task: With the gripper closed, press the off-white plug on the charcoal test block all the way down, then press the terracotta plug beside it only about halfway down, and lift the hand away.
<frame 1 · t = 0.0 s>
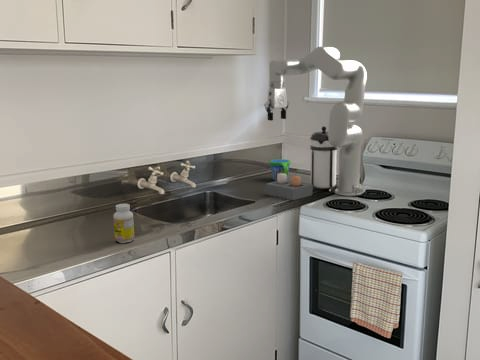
hand: (277, 119, 276), 31 cm above the counter, tool pointing down, fingers open, 9 cm apart
test block: (288, 194, 249), on the counter
terracotta plug: (296, 182, 245), point 7 cm above the counter, slide at 0.0 cm
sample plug: (282, 179, 251), point 7 cm above the counter, slide at 0.0 cm
snack cup: (280, 180, 281), on the counter
coffee press: (322, 188, 261), on the counter
supplement bottle: (124, 241, 187), on the counter
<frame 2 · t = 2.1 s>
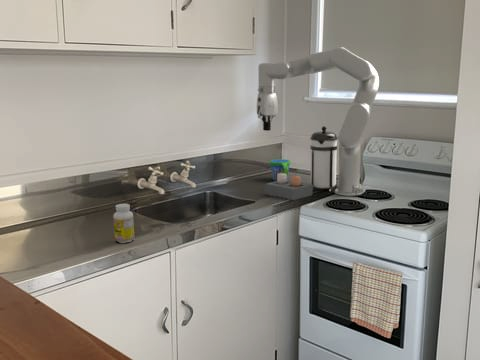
hand: (266, 130, 253), 29 cm above the counter, tool pointing down, fingers closed
nothing on the counter moved.
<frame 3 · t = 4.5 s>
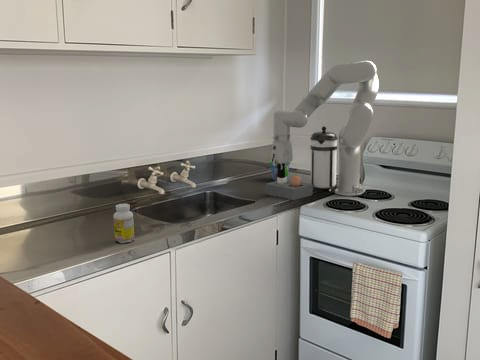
hand: (281, 177, 251), 8 cm above the counter, tool pointing down, fingers closed
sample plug: (282, 182, 251), point 5 cm above the counter, slide at 1.6 cm, touching gripper
everything else where it was.
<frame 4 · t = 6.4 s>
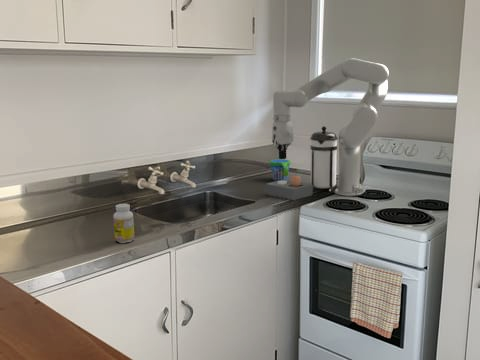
hand: (282, 158, 249), 16 cm above the counter, tool pointing down, fingers closed
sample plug: (282, 187, 251), point 3 cm above the counter, slide at 3.5 cm
everything else where it was.
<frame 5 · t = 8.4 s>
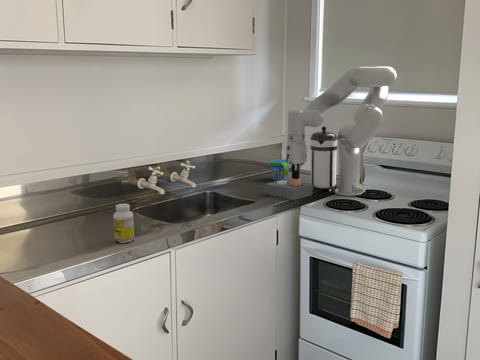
hand: (295, 178, 244), 8 cm above the counter, tool pointing down, fingers closed
terracotta plug: (296, 183, 245), point 6 cm above the counter, slide at 0.8 cm, touching gripper
everything else where it was.
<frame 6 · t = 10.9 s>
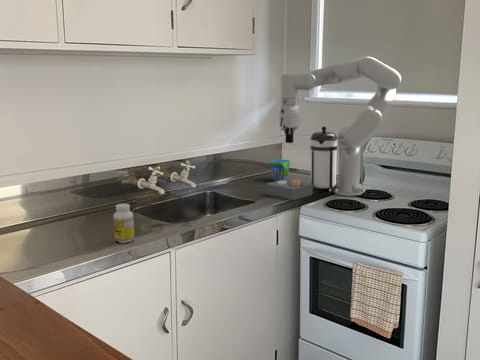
hand: (289, 142, 245), 24 cm above the counter, tool pointing down, fingers closed
terracotta plug: (296, 185, 245), point 5 cm above the counter, slide at 1.7 cm
everything else where it was.
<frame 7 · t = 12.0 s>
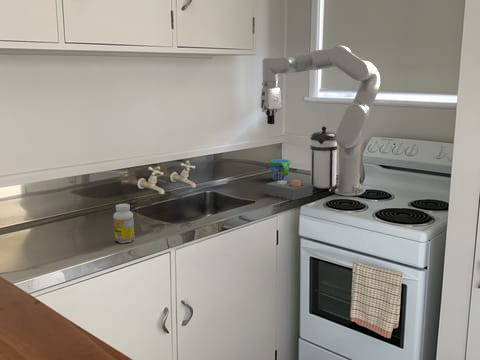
hand: (270, 123, 257), 31 cm above the counter, tool pointing down, fingers closed
nothing on the counter moved.
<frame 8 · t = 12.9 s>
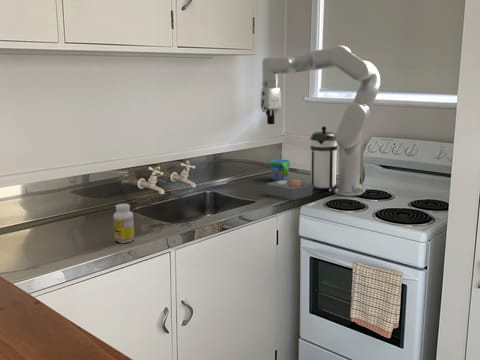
hand: (270, 123, 257), 31 cm above the counter, tool pointing down, fingers closed
nothing on the counter moved.
at the end: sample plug slide at 3.5 cm; terracotta plug slide at 1.7 cm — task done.
